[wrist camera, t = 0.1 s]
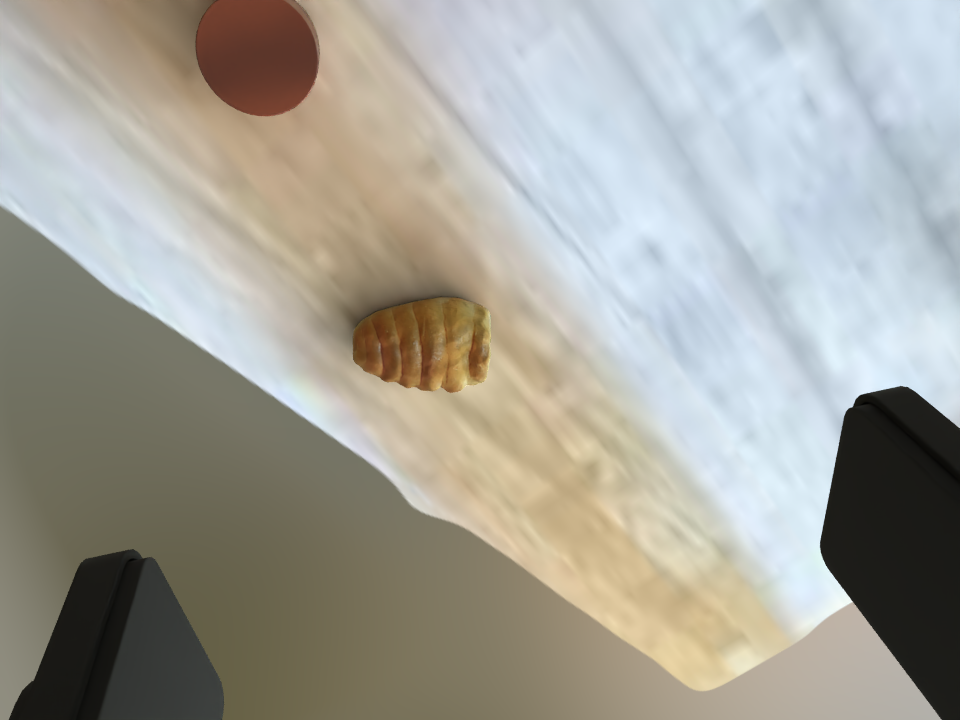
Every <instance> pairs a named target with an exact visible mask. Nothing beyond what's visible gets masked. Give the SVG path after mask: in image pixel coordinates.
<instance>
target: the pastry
mask: <svg viewBox="0 0 960 720" xmlns="http://www.w3.org/2000/svg"><path fill="white" fill-rule="evenodd" d="M490 319H491V315H490V313H489V311H488V310H487V309H486V308H484V307H483V306H480V305H478V304H475V303H472V302H469V301H466V300H463V299H460V298H455V297H451V298H449V297H437V298H433V299H425V300H421V301H414V302H410V303H407V304H403V305H398V306H394V307H390V308H387V309H384V310H380V311H377V312H375V313H373V314H372V315H370V316H369V317H367V318H365V319H363V320H362V321H361V322H360V323H359V324H358V325H357V327H356V328H355V329H354V332H353V360H354V362H355V363H356V364H358V365H359V366H360V367H361V368H362V369H363V370H364V371H365V372H368V373H370V374H373V375H376V376H378V377H380V378H381V379H382V380H383V381H385V382H397V383H399V384H400V385H402V386H404V387H406V388H411V387H417V388H418V389H420V390H422V391H436V390H437V389H439V388H440V387H441V388H444V389H445V390H446V391H447V392H450V393H453V392H458V391H461V390H462V389H463V388H464V387H465V386H466V385H476V384H478V383H482V382H484V381H485V379H486V377H487V372H488V368H489V362H490V357H491V352H490V342H491V337H490V324H491V323H490Z"/></svg>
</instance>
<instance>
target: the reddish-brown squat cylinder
mask: <svg viewBox="0 0 960 720" xmlns="http://www.w3.org/2000/svg"><path fill="white" fill-rule="evenodd" d="M319 54H320V52H319V41H318V36H317V33H316V30H315V27H314V25H313V23H312V21H311V19H310V17H309V16H308V14H307V13H306V12H305V10H304V9H303V8H302V7H301V6H300V5H299V3H297V2H296V1H295V0H216V1H215V2H214V3H213V4H212V5H211V6H210V7H209V8H208V9H207V10H206V12H205V13H204V15H203V17H202V19H201V21H200V23H199V26H198V30H197V34H196V55H197V60H198V64H199V67H200V70H201V72H202V74H203V76H204V78H205V80H206V82H207V83H208V85H209V86H210V88H211V89H212V90H213V91H214V92H215V94H216V95H217V96H218V97H220V98H221V99H222V100H223V101H224V102H226V103H227V104H228V105H230V106H232V107H233V108H235V109H237V110H239V111H242V112H244V113H247V114H251V115H256V116H275V115H279V114H283V113H285V112H288V111H290V110H291V109H293V108H295V107H296V106H298V105H299V104H300V103H301V102H302V101H303V100H304V99H305V98H306V97H307V96H308V94H309V93H310V91H311V89H312V87H313V86H314V83H315V80H316V77H317V73H318V65H319Z"/></svg>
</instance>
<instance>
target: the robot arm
mask: <svg viewBox="0 0 960 720" xmlns="http://www.w3.org/2000/svg"><path fill="white" fill-rule="evenodd" d="M820 549H821V554H822V557H823V560H824V562H825V564H826V566H827V568H828V569H829V571H830V572H831V573H832V575H833V576H834V577H835V579H836V580H837V581H838V583H839V584H840V585H841V587H842V588H843V589H844V590H845V592H846V593H847V594H848V596H849V597H850V598H851V600H852V601H853V602H854V604H855V605H856V606H857V608H858V609H859V610H860V612H861V613H862V614H863V616H864V617H865V618H866V620H867V621H868V622H869V624H870V625H871V626H872V628H873V629H874V630H875V631H876V633H877V634H878V636H879V637H880V638H881V640H882V641H883V642H884V643H885V645H886V646H887V647H888V649H889V650H890V652H891V653H892V654H893V655H894V657H895V658H896V659H897V661H898V662H899V663H900V665H901V666H902V667H903V669H904V670H905V671H906V673H907V674H908V675H909V677H910V678H911V679H912V681H913V682H914V683H915V685H916V686H917V687H918V689H919V690H920V691H921V693H922V694H923V695H924V697H925V698H926V699H927V701H928V702H929V703H930V705H931V706H932V707H933V709H934V710H935V711H936V713H937V714H938V715H939V717H940V718H941V719H942V720H960V428H959V427H957V426H956V425H955V424H954V423H952V422H951V421H950V420H949V419H948V418H946V417H945V416H944V415H943V414H942V413H940V412H939V411H938V410H937V409H935V408H934V407H933V406H932V405H931V404H929V403H928V402H927V401H926V400H925V399H923V398H922V397H921V396H920V395H918V394H917V393H916V392H915V391H913V390H912V389H910V388H908V387H903V386H899V387H895V388H890V389H885V390H881V391H876V392H871V393H866V394H863V395H860V396H859V397H858V398H857V399H856V400H855V403H854V406H853V407H852V408H849V409H848V410H847V411H846V413H845V416H844V421H843V426H842V431H841V436H840V442H839V447H838V452H837V457H836V462H835V468H834V473H833V478H832V483H831V488H830V494H829V499H828V504H827V509H826V514H825V520H824V525H823V530H822V535H821V540H820ZM223 708H224V696H223V688H222V684H221V681H220V679H219V677H218V675H217V673H216V671H215V669H214V667H213V666H212V664H211V662H210V660H209V658H208V656H207V654H206V653H205V651H204V649H203V647H202V645H201V643H200V641H199V639H198V638H197V636H196V634H195V632H194V630H193V628H192V627H191V625H190V623H189V621H188V619H187V617H186V615H185V614H184V612H183V610H182V608H181V606H180V604H179V602H178V600H177V599H176V597H175V595H174V593H173V591H172V589H171V587H170V586H169V584H168V582H167V580H166V578H165V576H164V574H163V573H162V571H161V569H160V567H159V565H158V563H157V562H156V561H155V559H153V558H152V557H149V558H144V559H143V558H142V557H141V555H140V554H139V553H138V552H137V551H135V550H134V549H132V550H126V551H121V552H116V553H112V554H107V555H102V556H98V557H93V558H88V559H85V560H84V561H83V562H81V564H80V566H79V567H78V569H77V572H76V574H75V577H74V579H73V582H72V584H71V587H70V590H69V592H68V595H67V597H66V600H65V602H64V605H63V608H62V610H61V613H60V615H59V618H58V620H57V623H56V625H55V628H54V630H53V633H52V636H51V638H50V641H49V643H48V646H47V648H46V651H45V654H44V656H43V659H42V661H41V664H40V666H39V669H38V672H37V674H36V676H35V679H34V681H32V682H31V683H30V684H28V685H27V686H26V687H25V688H24V690H22V692H21V694H20V696H19V698H18V700H17V702H16V704H15V706H14V708H13V711H12V713H11V716H10V718H9V720H222V716H223Z"/></svg>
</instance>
